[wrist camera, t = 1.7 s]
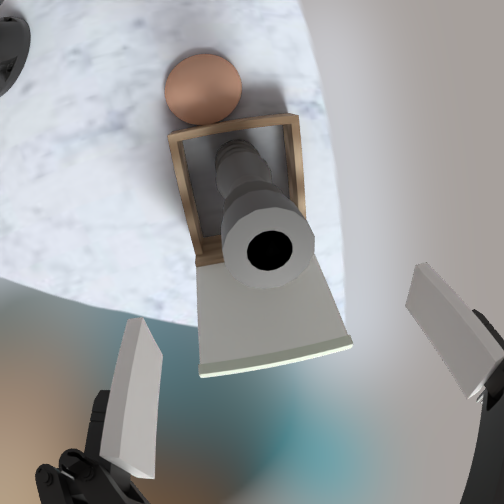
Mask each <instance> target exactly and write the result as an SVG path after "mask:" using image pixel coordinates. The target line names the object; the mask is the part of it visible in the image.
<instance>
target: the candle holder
mask: <svg viewBox="0 0 504 504" xmlns="http://www.w3.org/2000/svg"><path fill="white" fill-rule="evenodd" d="M215 167H216V183H217V189H218V191H219V192H220V194H221V195H222V197H223V198H224V199H225V203H224V206H223V216H224V217H223V221H222V225H221V238H222V251H223V257H224V262H225V267H226V268H227V269H228V271H229V272H230V273H231V275H232V276H233V277H234V279H236V280H238V281H239V282H241V283H243V284H245V285H247V286H248V287H255V288H261V289H268V288H274V287H280V286H283V285H285V284H287V283H289V282H291V281H292V280H294V279H296V278H297V277H298V276H299V275H300V274H301V273H302V272H303V271H304V270H305V269H306V268H307V267H308V265H309V263H310V261H311V259H312V256H313V254H314V243H315V236H314V234H313V232H312V230H311V228H310V226H309V224H308V222H307V220H306V219H305V218H304V216H303V215H302V213H301V212H300V211H299V209H298V208H297V206H296V205H295V204H294V203H293V202H292V201H291V200H290V199H288V198H287V197H286V196H285V195H283V193H282V191H281V190H280V189H279V188H278V187H276V186H275V185H274V184H272V178H271V170H270V168H269V167H268V165H267V163H266V161H265V160H263V159H262V158H261V157H260V155H259V153H258V151H257V150H256V149H255V148H254V147H253V146H252V145H251V144H249V143H248V142H246V141H242V140H234V141H229V142H227V143H226V144H224V145H222V147H221V148H220V149H219V151H218V152H217V155H216V159H215Z"/></svg>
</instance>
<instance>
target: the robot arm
mask: <svg viewBox="0 0 504 504" xmlns="http://www.w3.org/2000/svg"><path fill="white" fill-rule="evenodd" d="M3 1H4V0H0V5H1V4H2V2H3ZM29 47H30V30H29V27H28V25H27V23H26V22H25V21H24V20H23V19H21V18H17V17H11V16H9V17H3V18H0V97H1V96H2V95H3V94H5V93H6V92H7V91H8V90H9V89H10V88H11V86H12V85H13V84H14V83H15V81H16V80H17V78H18V76H19V75H20V73H21V71H22V69H23V66H24V64H25V62H26V59H27V56H28V52H29ZM405 306H406V308H407V309H408V311H409V312H410V313H411V315H412V316H413V318H414V319H415V320H416V322H417V323H418V325H419V326H420V327H421V329H422V330H423V332H424V333H425V335H426V336H427V338H428V339H429V340H430V342H431V343H432V345H433V346H434V348H435V349H436V351H437V352H438V354H439V355H440V357H441V358H442V360H443V361H444V363H445V365H446V366H447V367H448V369H449V371H450V372H451V374H452V376H453V377H454V379H455V381H456V382H457V384H458V385H459V387H460V389H461V390H462V392H463V394H464V395H465V397H466V399H468V398H470V397H471V396H473V395H474V394H476V393H477V392H478V391H479V390H480V389H481V388H482V387H483V385H484V386H485V387H486V389H485V390H484V391H483V392H482V393H481V395H480V396H479V397H478V398H477V401H476V402H477V403H478V402H479V401H480V400H481V399H482V398H483V400H482V401H481V403H482V412H481V420H480V427H479V433H478V438H477V443H476V448H475V453H474V457H473V461H472V465H471V469H470V473H469V477H468V480H467V483H466V487H465V490H464V493H463V496H462V499H461V502H460V504H504V340H503V338H502V337H501V336H500V335H499V333H498V332H497V331H496V330H494V327H493V326H492V325H491V324H489V321H488V320H487V319H486V318H485V316H484V315H483V314H481V313H480V312H478V311H477V310H475V309H474V310H471V309H470V308H469V307H468V306H467V305H466V304H465V302H464V301H463V300H462V299H461V298H460V297H459V296H458V295H457V294H456V292H455V291H454V290H453V289H452V288H451V287H450V286H449V285H448V284H447V283H446V282H445V281H444V280H443V278H441V276H440V275H439V274H438V273H437V272H436V271H435V270H434V269H433V268H432V267H431V266H430V265H429V264H428V263H427V262H426V263H422V264H418V265H415V269H414V274H413V278H412V282H411V286H410V290H409V294H408V297H407V301H406V305H405ZM162 359H163V355H162V353H161V351H160V349H159V347H158V346H157V344H156V342H155V340H154V338H153V336H152V334H151V332H150V330H149V329H148V327H147V325H146V323H145V321H144V319H143V317H141V318H133V319H128V321H127V325H126V328H125V332H124V335H123V340H122V343H121V347H120V351H119V355H118V359H117V363H116V368H115V372H114V376H113V381H112V385H111V390H100V392H99V393H98V395H97V397H96V398H95V400H94V404H93V408H92V414H91V418H90V421H91V422H90V423H89V428H88V434H87V439H86V445H85V451H84V453H83V452H81V451H80V450H78V449H68V450H66V451H64V452H63V454H61V457H60V459H59V468H55V467H53V466H51V465H49V464H42V465H41V466H39V468H38V469H37V470H36V474H35V480H36V485H37V489H38V493H39V497H40V501H41V504H150V503H149V502H148V500H147V499H146V498H145V497H144V496H143V494H142V493H141V492H140V491H139V490H138V488H137V487H136V486H135V485H134V483H133V482H132V481H131V480H130V474H131V475H133V476H135V477H137V478H149V479H155V445H156V427H157V426H156V425H157V411H158V399H159V388H160V377H161V368H162Z"/></svg>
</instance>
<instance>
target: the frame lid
mask: <svg viewBox="0 0 504 504" xmlns="http://www.w3.org/2000/svg"><path fill="white" fill-rule="evenodd" d="M196 280H197V313H198V335H199V353H200V364H199V365H198V368H199V375H200V377H201V378H205V377H213V376H221V375H227V374H235V373H241V372H247V371H253V370H259V369H264V368H270V367H275V366H280V365H284V364H289V363H294V362H298V361H302V360H307V359H312V358H315V357H319V356H323V355H328V354H331V353H335V352H339V351H343V350H346V349H350V348H352V346H353V341H352V339H351V336H350V335H348V334H347V331H346V328H345V326H344V323H343V321H342V318H341V316H340V313H339V311H338V308H337V306H336V304H335V301H334V299H333V296H332V294H331V291H330V289H329V287H328V284H327V282H326V280H325V277H324V275H323V272H322V270H321V268H320V266H319V263H318V261H317V259H316V256H315V254H313V256H312V259H311V261H310V263H309V265H308V267H307V268H306V269H305V270H304V271H303V272H302V273H301V274H300V275H299V276H298V277H297V278H296V279H294V280H292V281H291V282H289V283H287V284H285V285H283V286H280V287H274V288H268V289H261V288H255V287H248V286H247V285H245V284H243V283H241V282H239V281H238V280H236V279H234V277H233V276H232V275H231V273H230V272H229V271H228V269H227V268H226V267H225V262H224V263H218V264H212V265H207V266H201V267H196Z"/></svg>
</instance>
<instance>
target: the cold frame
mask: <svg viewBox="0 0 504 504" xmlns="http://www.w3.org/2000/svg"><path fill="white" fill-rule="evenodd" d="M282 124H283V132H284V142H285V151H286V162H287V172H288V184H289V195H290V200H291V201H292V202H293V203H294V204H295V205H296V206H297V208H298V209H299V211H300V212H301V213H302V215H303V216H304V218H305V219H306V206H305V189H304V173H303V160H302V147H301V136H300V125H299V115H295V114H291V113H283V114H273V115H264V116H256V117H248V118H241V119H235V120H228V121H222V122H216V123H213V124H209V125H200V126H195V127H190V128H185V129H181V130H176V131H173V132H171V133H170V134H169V135H168V136H167V137H168V142H169V147H170V151H171V156H172V161H173V165H174V170H175V174H176V179H177V183H178V187H179V191H180V196H181V200H182V204H183V208H184V212H185V216H186V220H187V224H188V228H189V232H190V236H191V240H192V243H193V247H194V251H195V254H196V259H195V264H196V267H201V266H207V265H212V264H218V263H224V257H223V251H222V238H221V235H215V236H210V237H204V238H203V234H202V230H201V225H200V221H199V217H198V212H197V208H196V204H195V199H194V195H193V190H192V185H191V181H190V176H189V171H188V167H187V162H186V157H185V152H184V147H183V142H182V140H187V139H191V138H196V137H201V136H206V135H212V134H217V133H223V132H229V131H236V130H242V129H249V128H256V127H264V126H273V125H282Z"/></svg>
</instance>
